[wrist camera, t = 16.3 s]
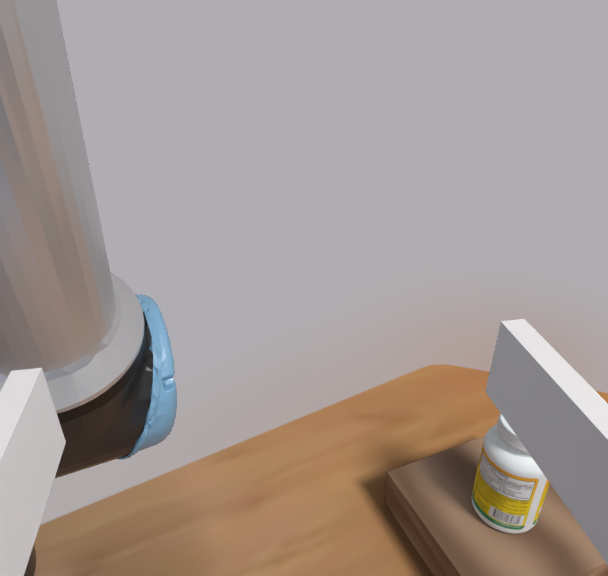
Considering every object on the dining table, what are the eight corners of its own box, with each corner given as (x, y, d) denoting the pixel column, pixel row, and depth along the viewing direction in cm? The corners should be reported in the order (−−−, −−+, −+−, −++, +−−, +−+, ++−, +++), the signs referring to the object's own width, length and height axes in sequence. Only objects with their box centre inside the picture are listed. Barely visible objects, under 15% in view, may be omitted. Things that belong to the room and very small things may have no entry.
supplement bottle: (497, 544, 40) (522, 456, 36) (457, 491, 45) (474, 406, 40) (552, 524, 42) (583, 437, 37) (509, 474, 46) (531, 390, 41)
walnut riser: (484, 652, 37) (493, 621, 35) (383, 501, 48) (386, 471, 47) (622, 577, 42) (637, 546, 40) (501, 455, 53) (508, 426, 51)
